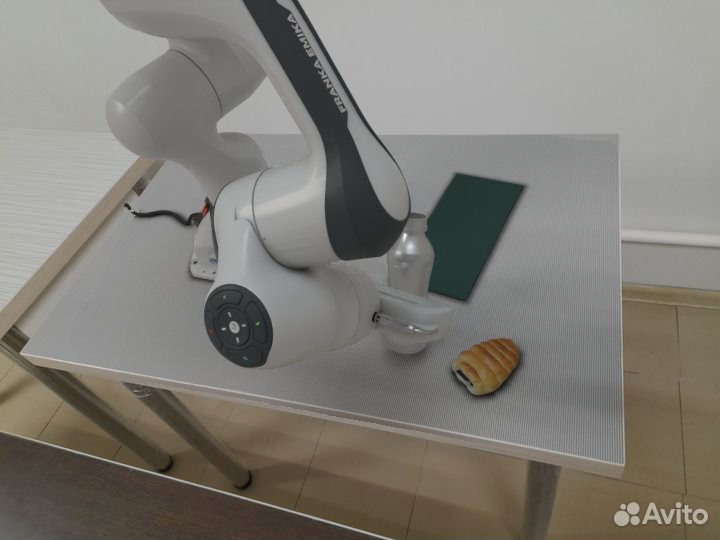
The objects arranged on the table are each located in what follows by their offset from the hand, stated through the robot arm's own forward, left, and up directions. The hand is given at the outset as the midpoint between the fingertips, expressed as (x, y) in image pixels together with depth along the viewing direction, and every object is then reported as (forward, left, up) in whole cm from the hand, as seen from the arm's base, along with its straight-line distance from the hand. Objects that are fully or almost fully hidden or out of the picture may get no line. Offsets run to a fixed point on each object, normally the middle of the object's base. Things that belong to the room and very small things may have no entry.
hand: (392, 293), depth 68 cm
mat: (+7, +25, -14) cm, 29 cm away
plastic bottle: (0, 0, -13) cm, 13 cm away
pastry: (+11, -3, -14) cm, 18 cm away
